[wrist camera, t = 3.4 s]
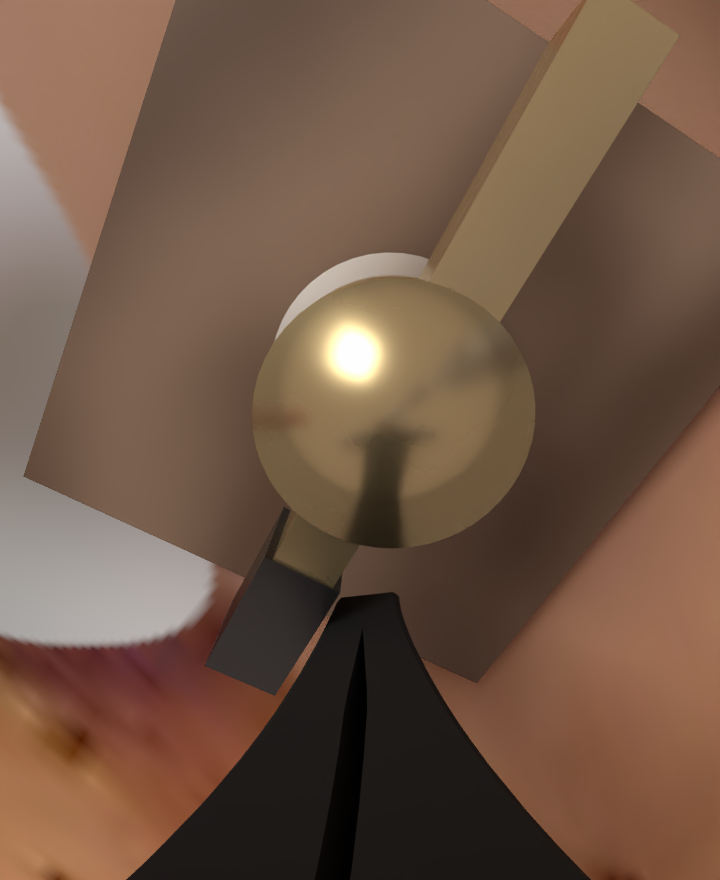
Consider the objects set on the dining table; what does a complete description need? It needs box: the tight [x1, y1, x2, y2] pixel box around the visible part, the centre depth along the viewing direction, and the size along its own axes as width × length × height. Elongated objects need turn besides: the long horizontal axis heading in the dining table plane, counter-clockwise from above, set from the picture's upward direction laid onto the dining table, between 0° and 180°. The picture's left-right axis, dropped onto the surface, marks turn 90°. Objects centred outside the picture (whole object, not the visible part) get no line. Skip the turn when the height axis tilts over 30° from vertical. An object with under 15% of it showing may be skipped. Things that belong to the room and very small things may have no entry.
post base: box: [24, 0, 720, 683], centre depth 11 cm, size 14×14×3 cm
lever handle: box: [205, 0, 680, 696], centre depth 9 cm, size 4×12×2 cm, turn 152°
